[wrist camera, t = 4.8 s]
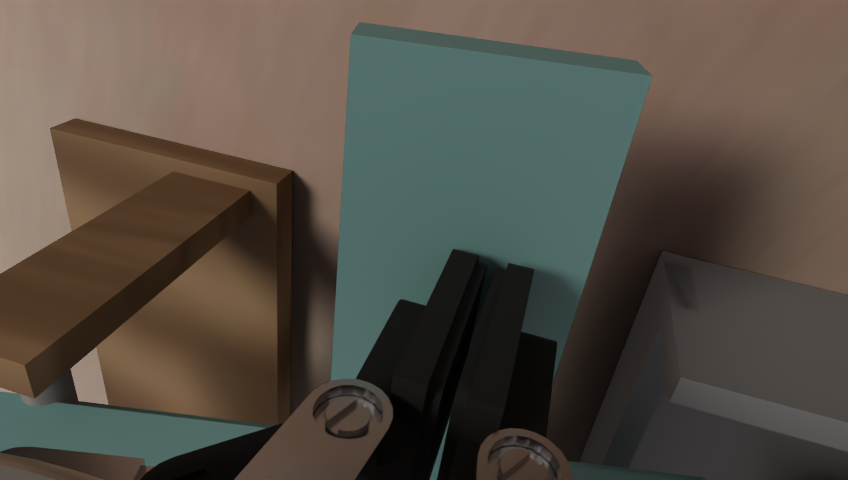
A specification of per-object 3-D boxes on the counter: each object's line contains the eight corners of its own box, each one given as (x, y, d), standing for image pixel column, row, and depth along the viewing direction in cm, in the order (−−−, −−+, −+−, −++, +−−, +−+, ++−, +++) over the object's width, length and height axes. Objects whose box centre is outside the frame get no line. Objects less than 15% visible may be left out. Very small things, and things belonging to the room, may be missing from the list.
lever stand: (75, 118, 22) (-273, 253, 14) (292, 170, 21) (60, 361, 12) (127, 399, 30) (-73, 601, 21) (289, 452, 29) (146, 694, 20)
